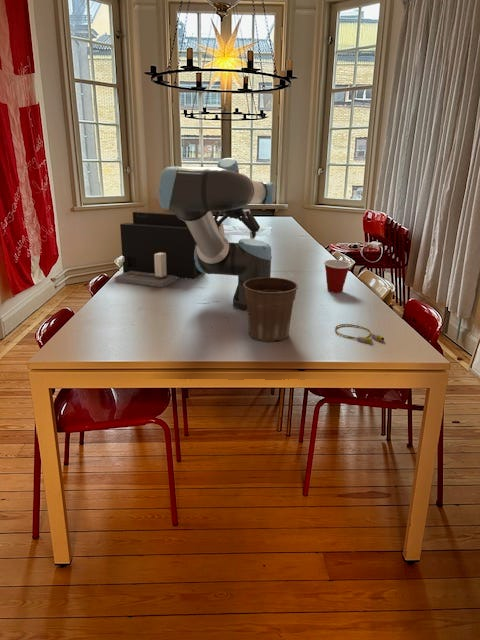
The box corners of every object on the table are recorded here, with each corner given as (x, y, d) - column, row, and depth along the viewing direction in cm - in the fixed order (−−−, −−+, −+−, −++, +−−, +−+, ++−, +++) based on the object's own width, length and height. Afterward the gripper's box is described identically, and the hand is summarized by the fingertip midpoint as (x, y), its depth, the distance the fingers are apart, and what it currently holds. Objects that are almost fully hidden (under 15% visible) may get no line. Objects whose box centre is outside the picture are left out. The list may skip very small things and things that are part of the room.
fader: (160, 278, 193) (159, 255, 190) (154, 278, 194) (153, 254, 191) (167, 275, 198) (166, 252, 195) (161, 275, 199) (160, 252, 195)
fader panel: (163, 287, 190) (162, 282, 189) (115, 281, 197) (114, 276, 196) (176, 280, 200) (176, 275, 199) (130, 275, 207) (130, 270, 207)
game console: (123, 272, 212) (119, 213, 203) (153, 259, 239) (151, 206, 230) (194, 279, 203) (193, 217, 194) (217, 265, 230) (217, 210, 221)
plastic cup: (328, 295, 182) (331, 266, 178) (317, 288, 192) (319, 260, 188) (353, 294, 185) (356, 264, 181) (340, 287, 195) (343, 259, 191)
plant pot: (290, 348, 132) (293, 294, 127) (235, 341, 136) (236, 288, 131) (298, 328, 147) (302, 279, 142) (249, 323, 151) (251, 275, 146)
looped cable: (346, 346, 135) (347, 340, 135) (328, 327, 150) (329, 321, 149) (386, 344, 137) (386, 338, 137) (364, 326, 152) (365, 320, 151)
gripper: (265, 196, 177) (268, 239, 193) (206, 187, 184) (214, 229, 200) (259, 208, 172) (262, 250, 189) (198, 198, 180) (207, 240, 196)
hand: (237, 240), depth 194 cm, fingers open, 13 cm apart
